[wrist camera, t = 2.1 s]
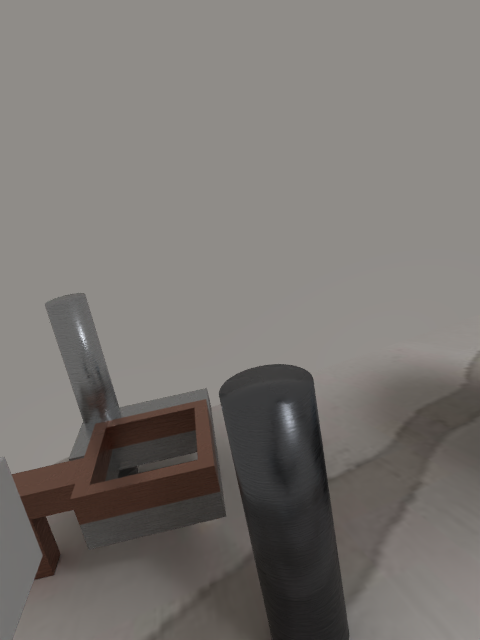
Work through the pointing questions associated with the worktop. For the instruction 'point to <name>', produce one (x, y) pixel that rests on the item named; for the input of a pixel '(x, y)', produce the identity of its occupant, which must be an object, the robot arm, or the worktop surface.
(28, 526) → the robot arm
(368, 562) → the worktop surface
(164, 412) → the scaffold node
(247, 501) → the pin
